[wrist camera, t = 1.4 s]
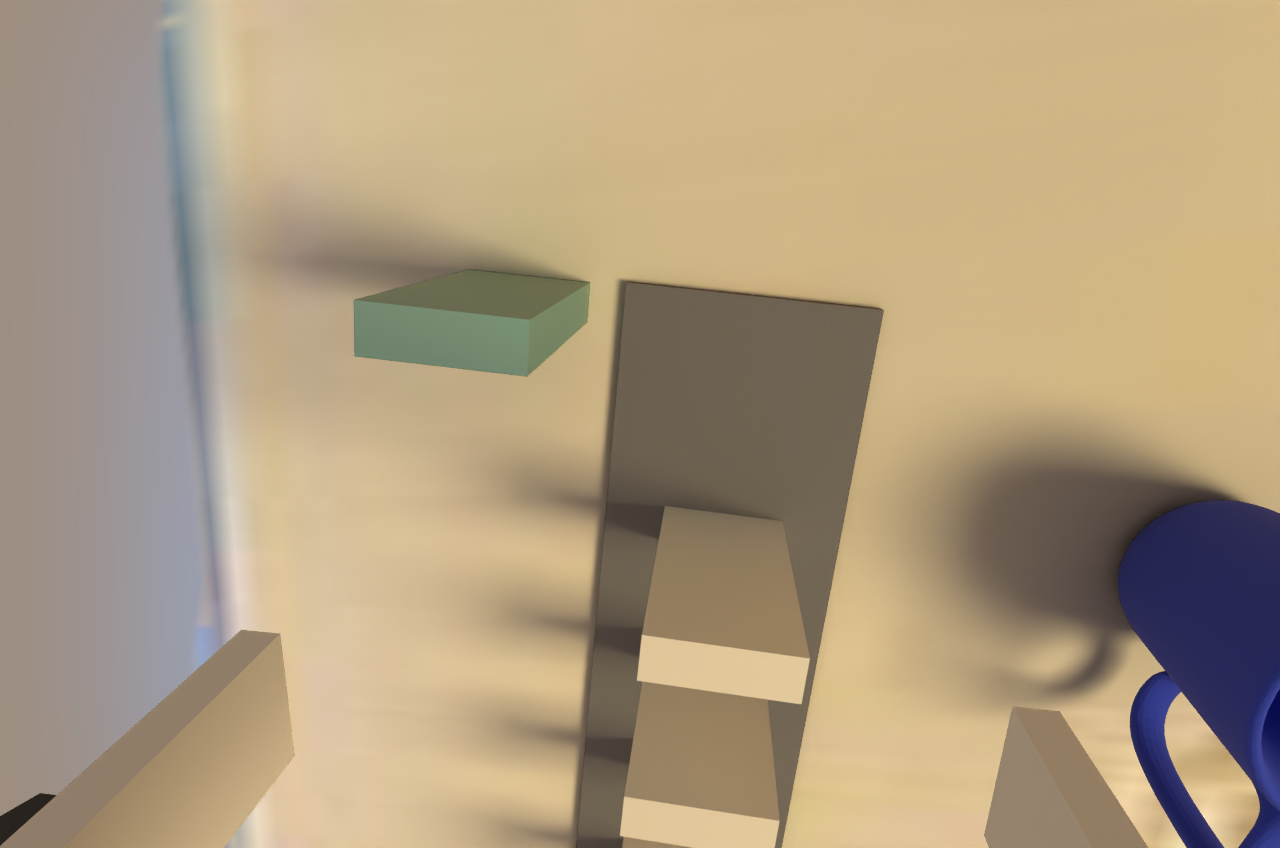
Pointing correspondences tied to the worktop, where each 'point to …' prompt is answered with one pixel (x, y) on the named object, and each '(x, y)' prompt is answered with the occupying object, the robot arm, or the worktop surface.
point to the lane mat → (720, 483)
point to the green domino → (472, 321)
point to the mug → (1209, 649)
